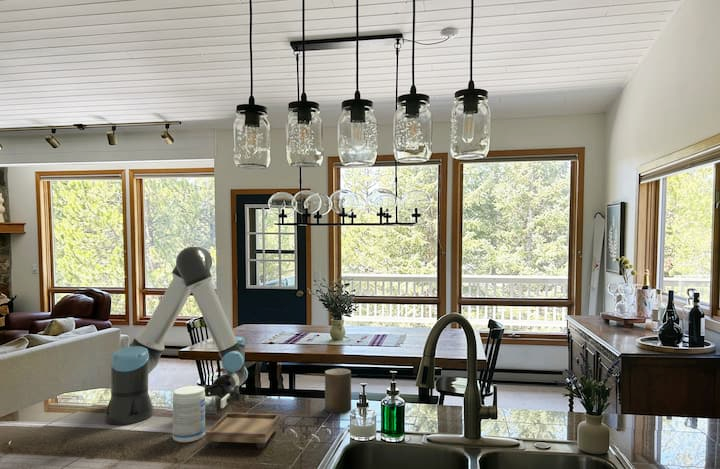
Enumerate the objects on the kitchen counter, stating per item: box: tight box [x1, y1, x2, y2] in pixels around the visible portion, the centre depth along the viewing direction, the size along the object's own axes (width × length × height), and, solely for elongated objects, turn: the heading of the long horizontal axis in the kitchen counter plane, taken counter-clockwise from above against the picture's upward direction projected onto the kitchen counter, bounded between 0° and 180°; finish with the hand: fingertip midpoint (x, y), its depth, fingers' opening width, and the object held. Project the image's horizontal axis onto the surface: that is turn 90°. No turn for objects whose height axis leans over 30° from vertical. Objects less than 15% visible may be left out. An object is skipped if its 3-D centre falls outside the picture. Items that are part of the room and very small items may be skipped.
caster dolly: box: [205, 412, 281, 450], centre depth 140 cm, size 18×16×5 cm
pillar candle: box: [324, 368, 352, 414], centre depth 167 cm, size 10×10×15 cm
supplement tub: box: [172, 385, 206, 443], centre depth 142 cm, size 10×10×15 cm
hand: (201, 403), depth 150 cm, fingers open, 13 cm apart
